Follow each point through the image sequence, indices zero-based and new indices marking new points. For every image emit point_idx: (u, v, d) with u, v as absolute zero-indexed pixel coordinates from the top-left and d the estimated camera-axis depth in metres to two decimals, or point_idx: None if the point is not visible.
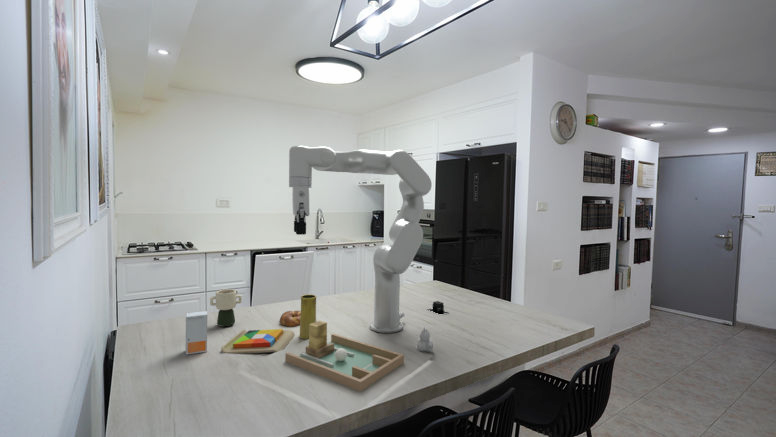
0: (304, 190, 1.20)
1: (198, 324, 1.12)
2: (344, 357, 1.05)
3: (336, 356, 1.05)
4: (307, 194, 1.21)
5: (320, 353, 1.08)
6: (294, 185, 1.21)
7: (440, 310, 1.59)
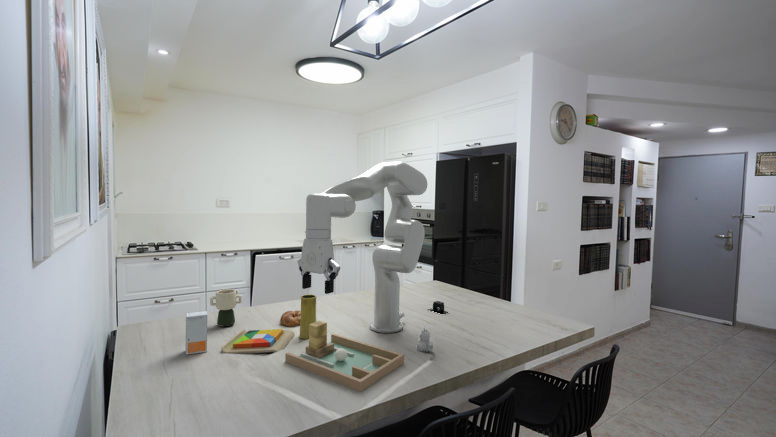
0: None
1: (198, 324, 1.12)
2: (344, 357, 1.05)
3: (336, 356, 1.05)
4: None
5: (320, 353, 1.08)
6: None
7: (441, 310, 1.59)
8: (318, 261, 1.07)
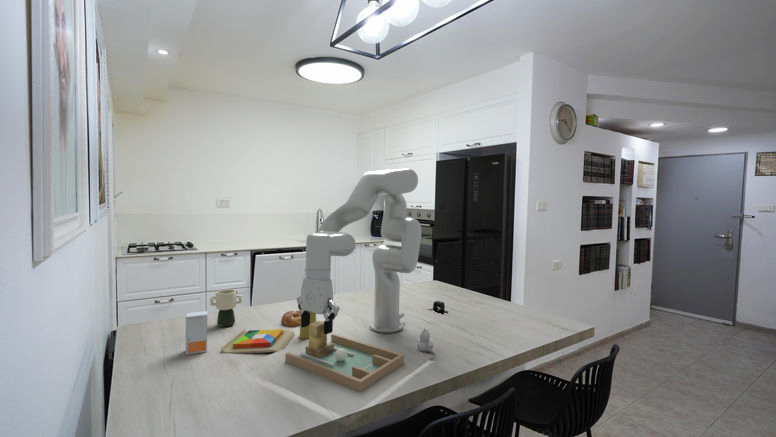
0: None
1: (197, 324, 1.12)
2: (344, 357, 1.05)
3: (336, 356, 1.05)
4: None
5: (320, 353, 1.08)
6: None
7: (441, 310, 1.60)
8: (317, 302, 1.07)
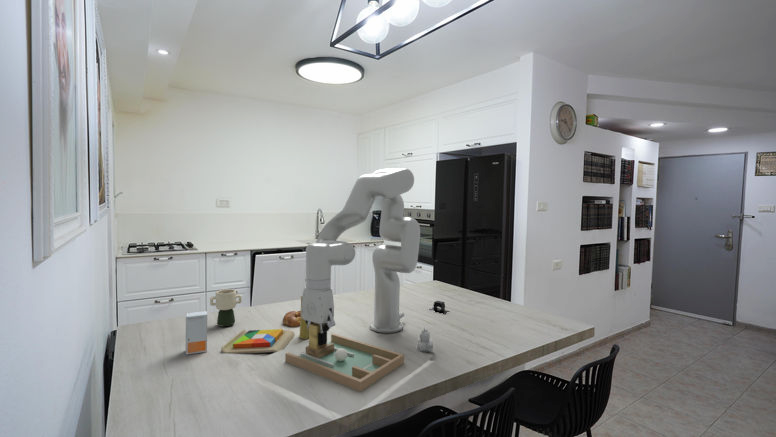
0: None
1: (197, 324, 1.12)
2: (344, 357, 1.05)
3: (336, 356, 1.05)
4: None
5: (320, 353, 1.08)
6: None
7: (442, 309, 1.60)
8: (318, 312, 1.08)
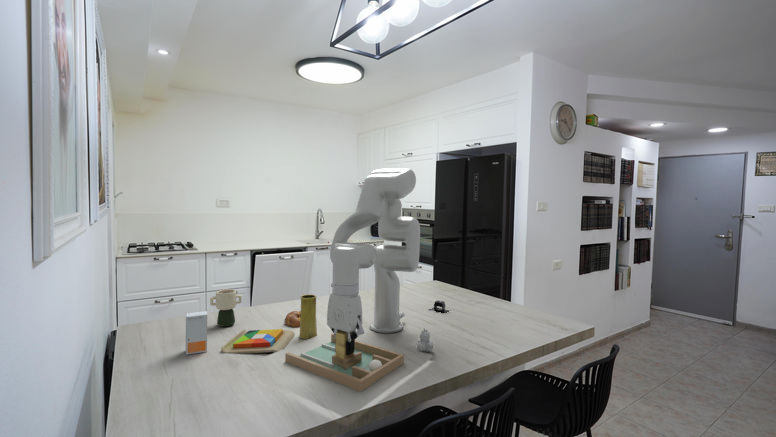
0: None
1: (197, 324, 1.12)
2: None
3: (371, 368, 0.98)
4: None
5: (348, 363, 1.02)
6: None
7: (443, 309, 1.61)
8: (346, 319, 1.01)
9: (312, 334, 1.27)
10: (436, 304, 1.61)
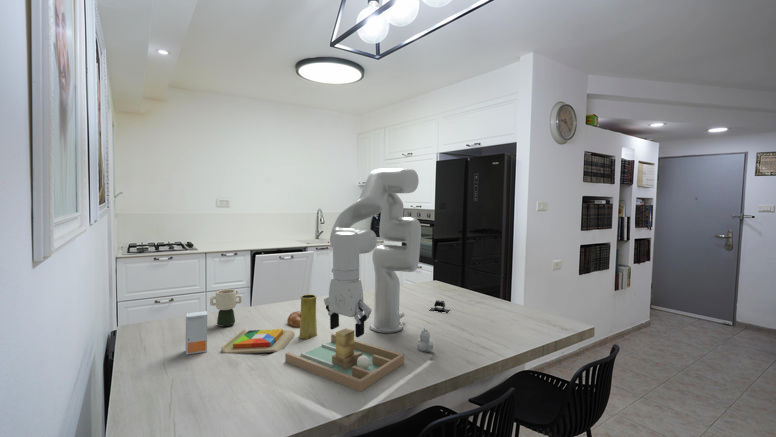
0: None
1: (197, 324, 1.12)
2: (361, 356, 1.02)
3: (359, 365, 1.01)
4: None
5: (348, 363, 1.02)
6: None
7: (444, 308, 1.62)
8: (348, 304, 1.02)
9: (312, 334, 1.27)
10: (437, 304, 1.62)
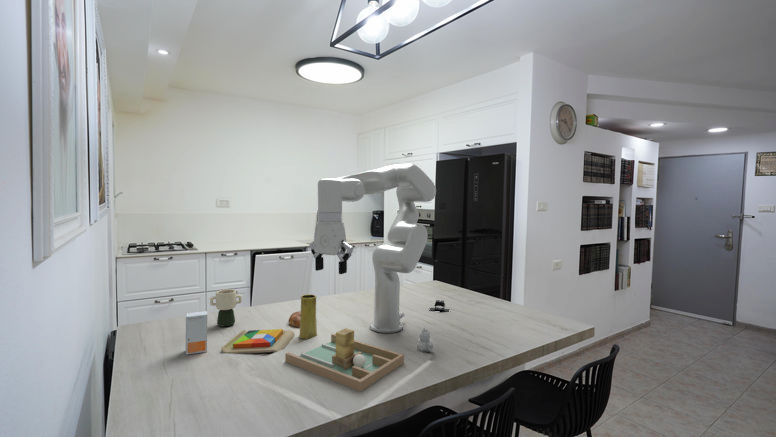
0: None
1: (198, 324, 1.12)
2: None
3: (355, 363, 1.01)
4: None
5: (348, 363, 1.02)
6: None
7: (444, 308, 1.62)
8: (332, 243, 1.12)
9: (312, 334, 1.27)
10: (437, 304, 1.62)
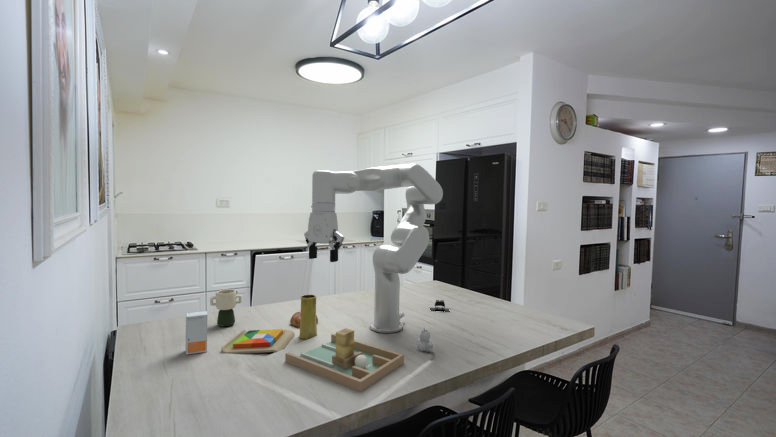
0: None
1: (198, 324, 1.12)
2: (357, 356, 1.03)
3: (357, 364, 1.01)
4: None
5: (348, 363, 1.02)
6: None
7: (444, 308, 1.63)
8: (324, 232, 1.16)
9: (312, 334, 1.27)
10: (437, 304, 1.62)
